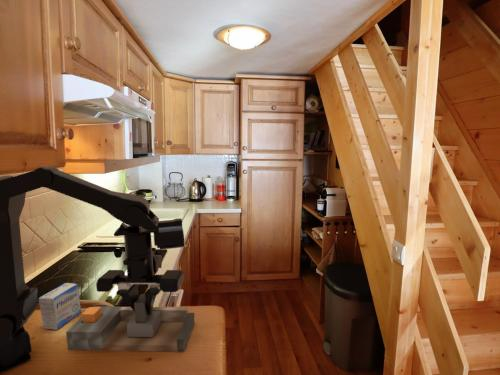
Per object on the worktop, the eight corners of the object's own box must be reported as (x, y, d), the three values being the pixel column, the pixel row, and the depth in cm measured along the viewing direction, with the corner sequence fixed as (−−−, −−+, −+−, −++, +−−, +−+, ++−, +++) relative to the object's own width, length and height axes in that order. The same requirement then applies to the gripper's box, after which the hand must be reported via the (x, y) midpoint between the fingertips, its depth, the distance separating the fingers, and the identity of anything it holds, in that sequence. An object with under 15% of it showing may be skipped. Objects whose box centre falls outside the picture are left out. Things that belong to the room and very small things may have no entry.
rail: (68, 349, 64) (66, 331, 63) (94, 322, 74) (92, 306, 73) (184, 351, 63) (183, 333, 62) (194, 323, 73) (193, 307, 72)
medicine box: (57, 331, 71) (53, 298, 69) (42, 329, 72) (38, 297, 70) (81, 312, 78) (78, 283, 77) (68, 311, 79) (64, 282, 78)
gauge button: (83, 327, 67) (81, 314, 66) (90, 320, 70) (89, 307, 69) (95, 327, 67) (93, 314, 66) (102, 320, 70) (100, 307, 69)
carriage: (127, 336, 65) (124, 304, 64) (138, 321, 71) (135, 292, 70) (153, 337, 65) (150, 305, 64) (161, 322, 71) (159, 292, 69)
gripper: (188, 239, 73) (191, 296, 75) (117, 239, 73) (122, 295, 76) (175, 256, 62) (178, 322, 64) (91, 256, 62) (98, 321, 65)
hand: (144, 313), depth 67 cm, fingers closed on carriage, 2 cm apart
